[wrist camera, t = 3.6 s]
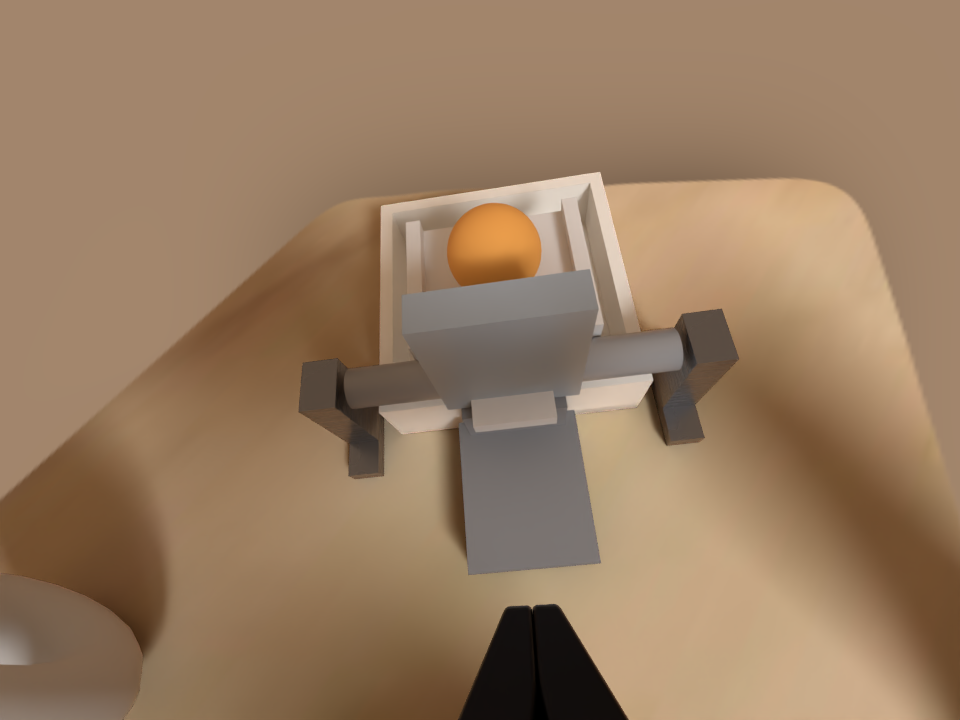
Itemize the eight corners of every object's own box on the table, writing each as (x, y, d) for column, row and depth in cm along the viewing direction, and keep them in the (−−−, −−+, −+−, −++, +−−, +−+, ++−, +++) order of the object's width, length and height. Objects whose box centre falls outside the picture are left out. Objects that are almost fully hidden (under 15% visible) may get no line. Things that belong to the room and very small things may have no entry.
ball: (547, 310, 18) (548, 255, 15) (458, 322, 18) (440, 270, 15) (535, 238, 19) (534, 174, 16) (453, 250, 20) (435, 189, 16)
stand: (698, 442, 20) (753, 400, 15) (354, 479, 22) (295, 451, 16) (670, 342, 22) (709, 274, 17) (358, 380, 24) (305, 328, 18)
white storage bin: (636, 407, 21) (653, 380, 18) (402, 434, 22) (378, 412, 19) (593, 219, 26) (599, 171, 23) (400, 247, 27) (381, 205, 24)
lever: (690, 554, 18) (853, 546, 9) (386, 581, 19) (234, 600, 10) (618, 268, 24) (669, 73, 14) (387, 300, 25) (291, 137, 15)
